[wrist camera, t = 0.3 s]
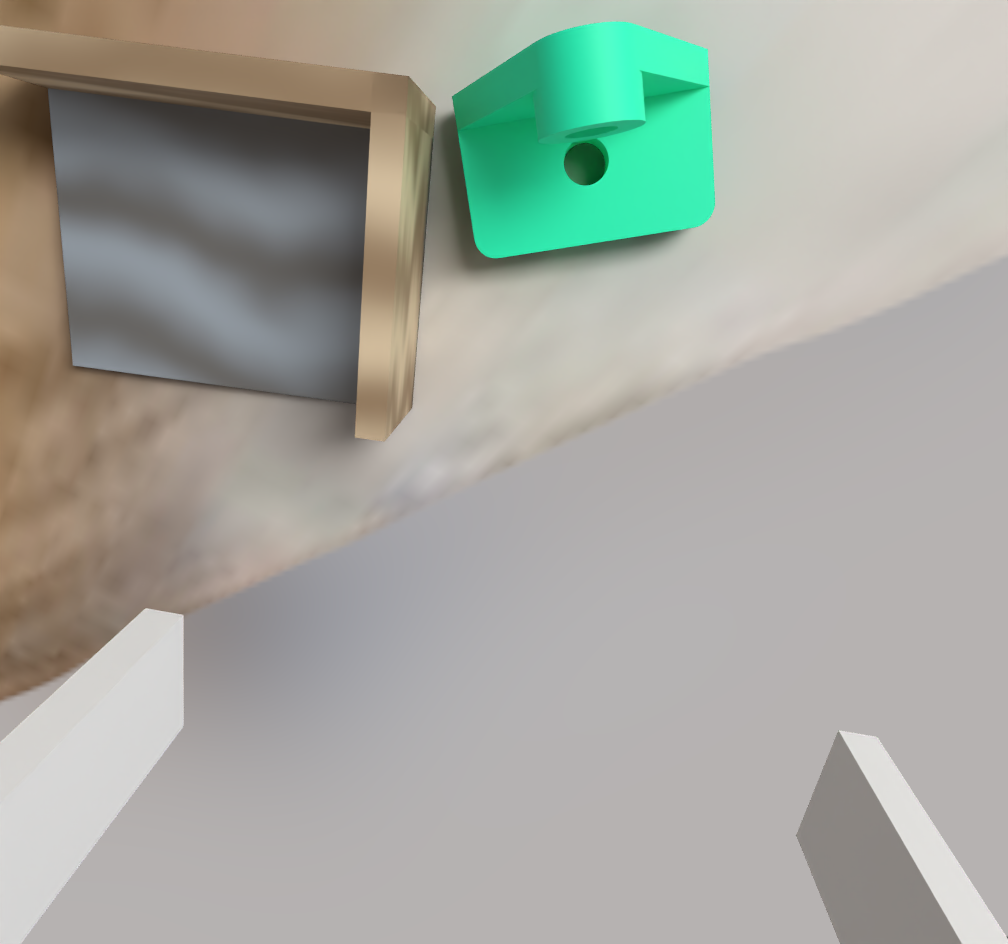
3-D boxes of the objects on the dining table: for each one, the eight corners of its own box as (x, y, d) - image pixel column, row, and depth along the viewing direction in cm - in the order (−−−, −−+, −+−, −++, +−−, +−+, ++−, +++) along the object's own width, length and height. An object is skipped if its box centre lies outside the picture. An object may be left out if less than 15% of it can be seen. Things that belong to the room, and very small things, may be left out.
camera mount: (482, 259, 37) (458, 267, 28) (459, 106, 35) (423, 55, 25) (704, 224, 36) (761, 220, 26) (696, 62, 34) (754, -8, 24)
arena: (55, 58, 35) (-59, 17, 29) (435, 106, 35) (408, 76, 28) (82, 363, 41) (-10, 387, 34) (412, 407, 40) (384, 441, 34)
